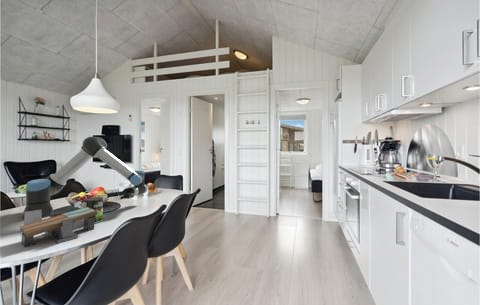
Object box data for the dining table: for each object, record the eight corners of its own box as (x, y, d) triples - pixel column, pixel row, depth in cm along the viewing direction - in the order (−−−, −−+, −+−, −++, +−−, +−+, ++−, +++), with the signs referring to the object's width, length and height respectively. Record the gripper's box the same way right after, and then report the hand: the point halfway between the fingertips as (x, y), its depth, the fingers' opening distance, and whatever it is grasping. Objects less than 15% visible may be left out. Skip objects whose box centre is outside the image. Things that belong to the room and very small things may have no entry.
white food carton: (41, 228, 122) (41, 210, 122) (24, 231, 117) (24, 212, 117) (40, 226, 125) (40, 209, 124) (24, 229, 120) (24, 211, 119)
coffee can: (106, 219, 138) (107, 197, 138) (92, 224, 128) (93, 201, 128) (93, 218, 140) (93, 196, 140) (78, 223, 130) (78, 199, 130)
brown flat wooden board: (20, 230, 105) (19, 226, 105) (86, 209, 127) (86, 206, 127) (27, 238, 96) (26, 233, 96) (97, 214, 119) (97, 210, 118)
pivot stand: (18, 239, 106) (18, 219, 106) (84, 224, 129) (85, 207, 129) (28, 251, 95) (28, 228, 94) (99, 232, 117) (99, 213, 117)
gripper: (144, 198, 161) (123, 205, 141) (116, 196, 167) (91, 203, 147) (144, 188, 161) (123, 193, 141) (116, 186, 167) (91, 191, 147)
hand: (107, 198), depth 144 cm, fingers open, 13 cm apart
